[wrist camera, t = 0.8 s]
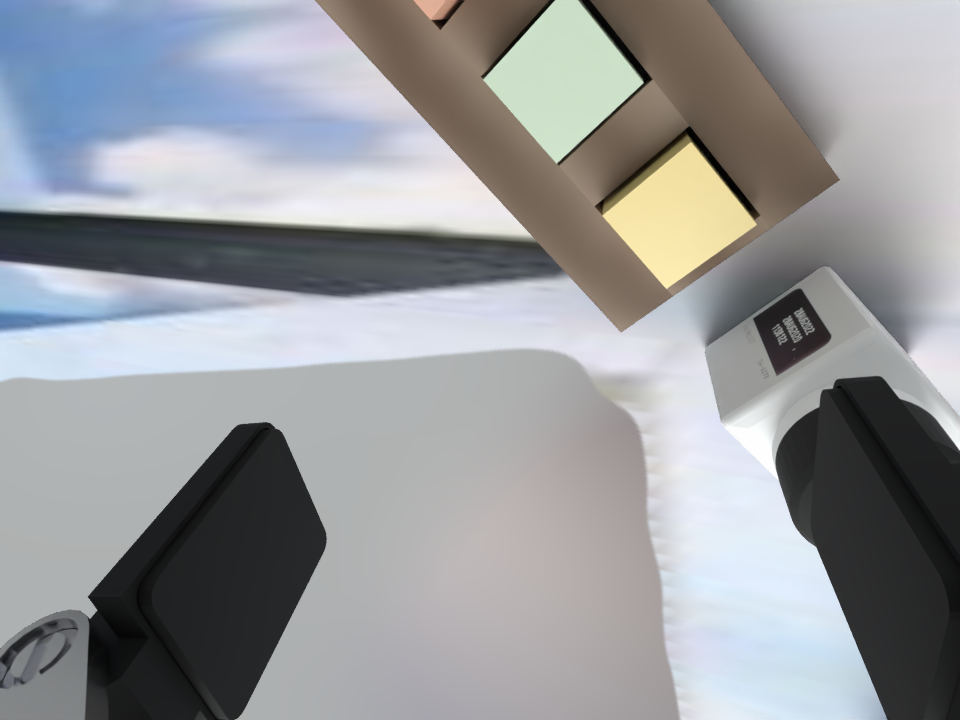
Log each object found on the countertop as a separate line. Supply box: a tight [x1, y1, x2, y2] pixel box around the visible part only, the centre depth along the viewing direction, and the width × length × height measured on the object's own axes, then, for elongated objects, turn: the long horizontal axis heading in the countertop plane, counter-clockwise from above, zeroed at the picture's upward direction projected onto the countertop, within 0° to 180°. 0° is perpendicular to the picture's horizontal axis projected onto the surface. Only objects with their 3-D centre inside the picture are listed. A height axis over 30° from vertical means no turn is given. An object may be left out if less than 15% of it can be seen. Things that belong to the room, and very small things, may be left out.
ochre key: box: [602, 131, 757, 289], centre depth 28 cm, size 5×5×3 cm
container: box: [705, 266, 960, 546], centre depth 28 cm, size 8×8×13 cm
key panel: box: [315, 0, 840, 332], centre depth 28 cm, size 12×23×3 cm, turn 45°
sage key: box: [483, 0, 644, 164], centre depth 27 cm, size 5×5×3 cm
